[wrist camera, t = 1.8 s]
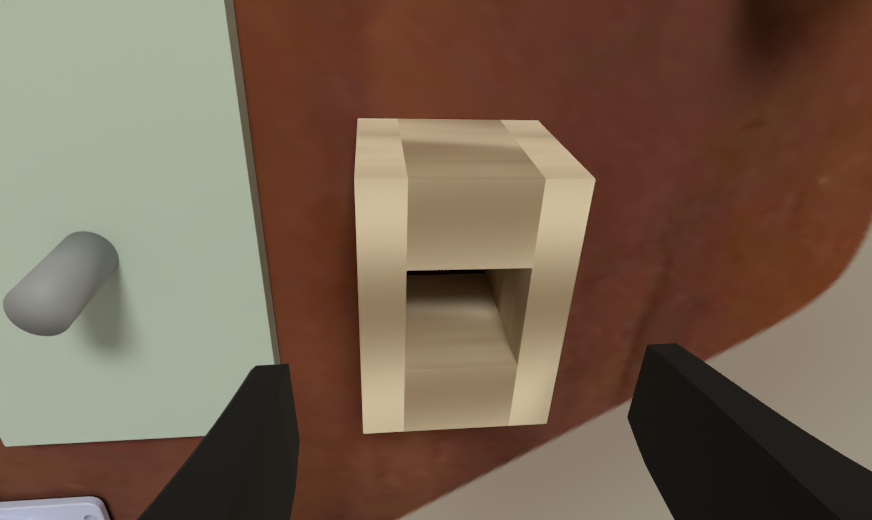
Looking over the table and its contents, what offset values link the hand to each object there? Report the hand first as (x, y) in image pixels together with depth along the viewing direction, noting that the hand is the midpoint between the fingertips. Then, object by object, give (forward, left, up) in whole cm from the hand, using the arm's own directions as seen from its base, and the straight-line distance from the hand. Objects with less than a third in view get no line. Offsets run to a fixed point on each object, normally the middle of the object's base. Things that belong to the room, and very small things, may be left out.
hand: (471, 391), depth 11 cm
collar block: (-1, 0, -8) cm, 8 cm away
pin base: (-1, +11, -8) cm, 13 cm away
